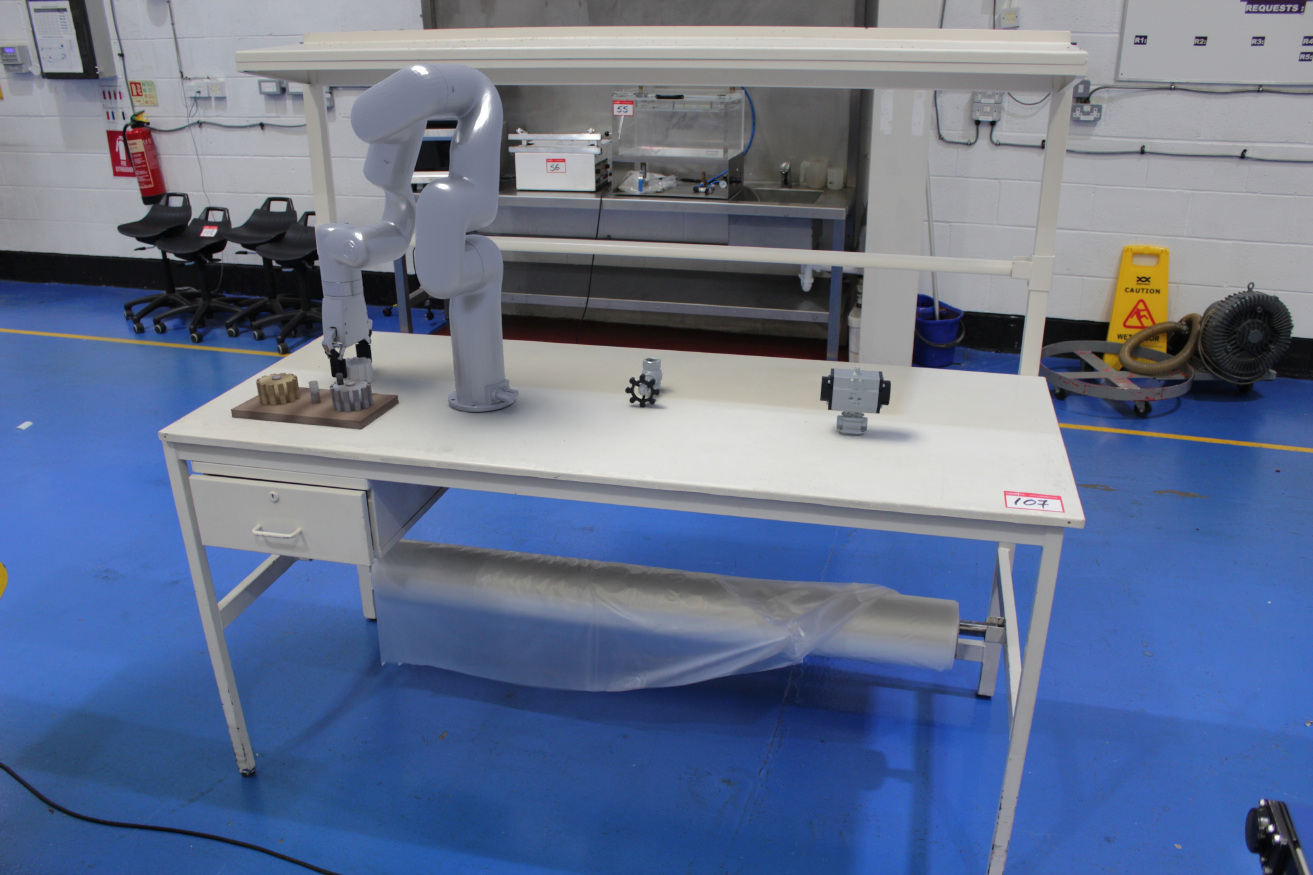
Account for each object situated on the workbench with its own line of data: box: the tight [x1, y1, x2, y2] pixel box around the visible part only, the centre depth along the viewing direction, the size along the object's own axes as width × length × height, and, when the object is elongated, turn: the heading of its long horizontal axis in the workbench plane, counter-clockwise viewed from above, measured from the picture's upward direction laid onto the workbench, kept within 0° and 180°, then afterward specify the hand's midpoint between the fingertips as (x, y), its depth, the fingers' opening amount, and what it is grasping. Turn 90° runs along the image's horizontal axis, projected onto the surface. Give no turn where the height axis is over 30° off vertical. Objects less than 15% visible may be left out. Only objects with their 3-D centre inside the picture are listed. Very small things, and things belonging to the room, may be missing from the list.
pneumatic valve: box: [819, 366, 892, 436], centre depth 153 cm, size 6×12×12 cm, turn 79°
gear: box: [343, 356, 375, 384], centre depth 180 cm, size 7×7×4 cm
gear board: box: [230, 372, 400, 430], centre depth 163 cm, size 26×14×8 cm, turn 78°
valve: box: [624, 356, 663, 409], centre depth 171 cm, size 7×7×12 cm
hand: (352, 370), depth 180 cm, fingers open, 9 cm apart
